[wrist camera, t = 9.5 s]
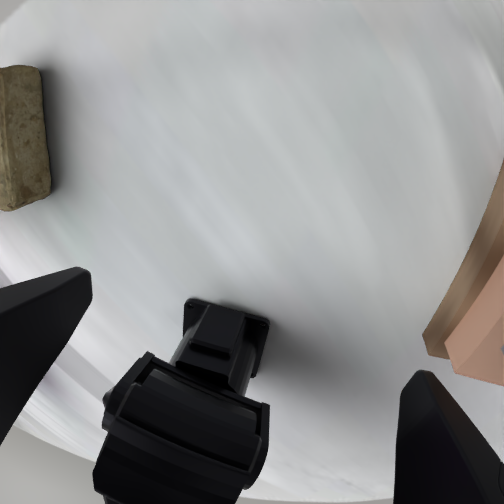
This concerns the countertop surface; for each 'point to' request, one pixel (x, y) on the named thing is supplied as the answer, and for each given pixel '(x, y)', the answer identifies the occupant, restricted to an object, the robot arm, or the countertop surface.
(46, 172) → the stone block
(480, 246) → the base slab
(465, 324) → the top slab
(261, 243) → the countertop surface
